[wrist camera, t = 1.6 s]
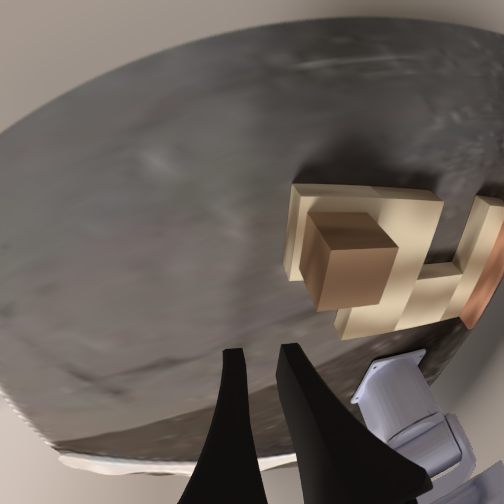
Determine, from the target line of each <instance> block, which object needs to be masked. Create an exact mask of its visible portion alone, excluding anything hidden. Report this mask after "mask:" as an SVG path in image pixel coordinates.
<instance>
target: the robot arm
mask: <svg viewBox="0 0 504 504" xmlns="http://www.w3.org/2000/svg"><path fill="white" fill-rule="evenodd" d="M425 353H426V350H425V349H421V350H417V351H413V352H409V353H405V354H401V355H397V356H392V357H388V358H384V359H379V360H375V361H373V362H372V364H371V366H370V368H369V369H368V371H367V373H366V375H365V377H364V379H363V380H362V382H361V384H360V386H359V387H358V389H357V391H356V393H355V394H354V396H353V398H352V399H351V403H358V404H359V407H360V409H361V412H362V414H363V417H364V420H365V422H366V425H367V428H368V429H367V428H366V427H365V426H364V425H363V424H362V423H361V422H360V421H359V420H358V419H357V418H355V417H354V416H353V415H352V413H351V412H350V411H349V410H348V409H347V408H346V407H345V406H344V405H343V404H342V403H341V401H340V400H339V399H338V398H337V397H336V396H335V394H334V393H333V392H332V391H331V389H330V388H329V387H328V386H327V384H326V383H325V382H324V380H323V379H322V378H321V376H320V375H319V374H318V372H317V371H316V370H315V368H314V367H313V365H312V364H311V362H310V361H309V359H308V358H307V356H306V355H305V353H304V351H303V350H302V348H301V347H300V345H299V344H298V343H290V344H281V348H280V354H279V359H278V365H277V370H276V380H277V386H278V392H279V398H280V401H281V405H282V408H283V412H284V415H285V418H286V422H287V425H288V428H289V431H290V435H291V438H292V441H293V444H294V448H295V452H296V457H297V462H298V468H299V472H300V479H301V485H302V491H303V497H304V504H504V465H503V463H502V461H501V460H500V461H498V462H497V463H495V464H494V465H493V466H491V467H489V468H488V469H487V470H485V471H484V472H482V473H480V474H478V475H476V476H475V477H473V478H471V479H470V480H468V479H469V478H470V476H471V474H472V473H473V471H474V469H475V467H476V464H475V462H476V458H475V456H474V454H473V451H472V446H471V445H470V442H469V440H468V438H467V436H466V434H465V431H464V429H463V427H462V426H461V424H460V422H459V420H458V418H457V416H456V414H454V413H450V412H449V413H447V414H446V416H445V415H444V413H443V412H442V411H441V409H440V407H439V405H438V403H437V401H436V399H435V398H434V396H433V394H432V392H431V390H430V388H429V386H428V384H427V382H426V381H425V379H424V377H423V375H422V373H421V371H420V370H419V368H418V366H417V365H418V364H419V362H420V361H421V359H422V358H423V356H424V354H425ZM460 461H461V462H460ZM458 462H460V464H459V465H458V466H457V467H456V468H455V469H454V470H452V471H451V472H449V473H447V474H446V475H444V476H442V477H440V478H438V479H436V480H435V481H433V482H432V481H431V479H430V478H432V477H434V476H436V475H438V474H439V473H441V472H443V471H445V470H446V469H448V468H450V467H452V466H453V465H455V464H456V463H458ZM177 504H268V502H267V499H266V495H265V490H264V486H263V482H262V478H261V474H260V469H259V465H258V460H257V455H256V451H255V446H254V441H253V436H252V431H251V425H250V416H249V402H248V387H247V372H246V363H245V358H244V353H243V349H242V348H233V349H225V350H223V370H222V378H221V385H220V390H219V395H218V400H217V404H216V408H215V412H214V416H213V419H212V423H211V426H210V430H209V433H208V436H207V439H206V442H205V444H204V447H203V450H202V452H201V455H200V457H199V460H198V462H197V465H196V467H195V469H194V472H193V474H192V476H191V478H190V480H189V482H188V484H187V486H186V488H185V490H184V492H183V494H182V496H181V498H180V500H179V502H178V503H177Z"/></svg>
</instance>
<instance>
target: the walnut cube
mask: <svg viewBox="0 0 504 504" xmlns="http://www.w3.org/2000/svg"><path fill="white" fill-rule="evenodd" d="M398 249H399V247H398V246H397V244H396V243H395V242H394V241H393V240H392V239H391V238H390V237H389V235H388V234H387V233H386V232H385V231H384V230H383V229H382V228H381V227H380V226H379V225H378V223H377V222H376V221H375V220H374V219H373V218H372V217H371V216H370V215H369V214H368V213H367V212H307V216H306V224H305V230H304V237H303V244H302V250H301V257H300V263H299V270H300V273H301V275H302V277H303V280H304V282H305V284H306V287H307V289H308V291H309V294H310V296H311V298H312V301H313V303H314V306H315V308H316V310H317V312H318V311H327V310H336V309H345V308H354V307H362V306H369V305H377V304H379V303H380V300H381V297H382V295H383V292H384V290H385V287H386V284H387V281H388V279H389V276H390V273H391V270H392V267H393V264H394V261H395V258H396V255H397V252H398Z"/></svg>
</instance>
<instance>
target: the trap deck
mask: <svg viewBox="0 0 504 504" xmlns="http://www.w3.org/2000/svg"><path fill="white" fill-rule="evenodd" d="M443 204H444V201H443V200H441V199H440V198H439V197H437V196H436V195H435V194H433V193H432V192H431V191H429V190H420V189H408V188H394V187H378V186H359V185H334V184H292V186H291V196H290V205H289V214H288V223H287V232H286V241H285V249H284V258H283V265H284V268H285V271H286V273H287V276H288V279H289V281H298V280H303V277H302V275H301V273H300V270H299V263H300V257H301V250H302V244H303V237H304V230H305V224H306V216H307V212H367V213H368V214H369V215H370V216H371V217H372V218H373V219H374V220H375V221H376V222H377V223H378V225H379V226H380V227H381V228H382V229H383V230H384V231H385V232H386V233H387V234H388V235H389V237H390V238H391V239H392V240H393V241H394V242H395V243H396V244H397V246H398V247H399V249H398V252H397V255H396V258H395V261H394V264H393V267H392V270H391V273H390V276H389V279H388V281H387V284H386V287H385V290H384V292H383V295H382V297H381V300H380V303H379V304H377V305H369V306H362V307H354V308H345V309H338V312H337V316H336V319H335V322H334V325H335V327H336V330H337V332H338V334H339V337H340V339H341V340H346V339H352V338H358V337H364V336H370V335H376V334H381V333H387V332H392V331H396V330H402V329H406V328H411V327H416V326H421V325H425V324H430V323H434V322H438V321H442V320H446V319H450V318H454V317H458V316H459V317H460V318H461V320H462V321H463V322H464V324H465V325H466V327H467V328H468V329H472V328H473V327H474V326H475V324H476V323H477V321H478V319H479V318H480V316H481V314H482V313H483V311H484V309H485V307H486V306H487V304H488V302H489V300H490V298H491V297H492V295H493V293H494V291H495V289H496V287H497V285H498V283H499V281H500V279H501V277H502V275H503V273H504V201H502V200H501V199H500V198H494V197H487V196H479V195H476V196H475V199H474V202H473V205H472V208H471V211H470V214H469V217H468V220H467V223H466V226H465V229H464V232H463V234H462V237H461V240H460V242H459V245H458V247H457V250H456V252H455V255H454V257H453V260H452V262H445V263H434V264H423V263H424V260H425V258H426V255H427V252H428V250H429V247H430V244H431V241H432V238H433V235H434V233H435V230H436V227H437V224H438V220H439V217H440V214H441V211H442V208H443Z"/></svg>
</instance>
